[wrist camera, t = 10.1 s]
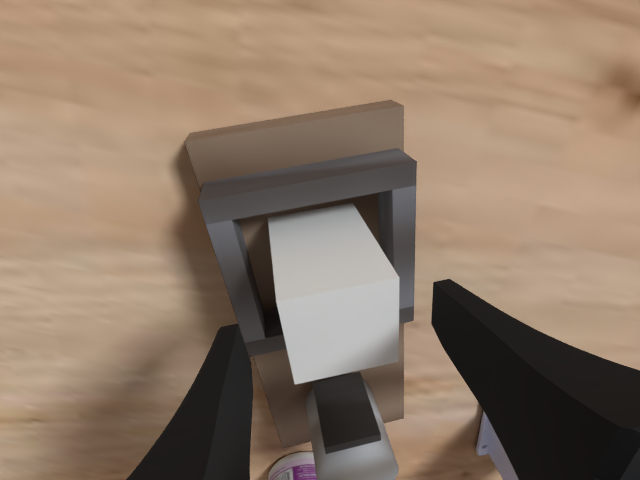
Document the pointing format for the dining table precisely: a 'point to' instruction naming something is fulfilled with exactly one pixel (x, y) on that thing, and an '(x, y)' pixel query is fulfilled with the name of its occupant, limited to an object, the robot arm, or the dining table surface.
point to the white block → (333, 293)
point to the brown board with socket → (257, 270)
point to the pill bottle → (294, 467)
